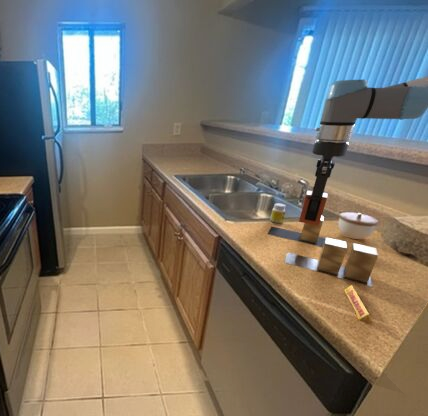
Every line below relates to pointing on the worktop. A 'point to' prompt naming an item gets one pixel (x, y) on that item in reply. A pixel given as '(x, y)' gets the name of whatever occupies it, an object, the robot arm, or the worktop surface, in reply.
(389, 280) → the worktop surface
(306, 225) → the O block
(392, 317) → the worktop surface
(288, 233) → the mat
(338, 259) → the tan upright block
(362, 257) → the block
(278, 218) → the supplement bottle
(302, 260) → the light grey flat rectangle
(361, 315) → the chocolate bar
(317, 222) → the block
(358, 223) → the trinket box
